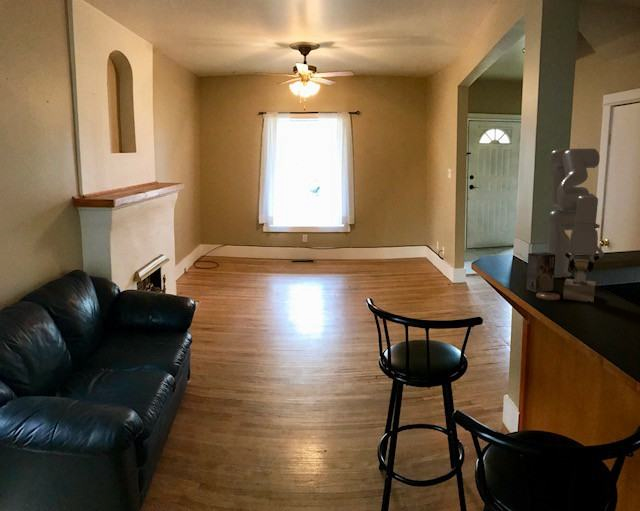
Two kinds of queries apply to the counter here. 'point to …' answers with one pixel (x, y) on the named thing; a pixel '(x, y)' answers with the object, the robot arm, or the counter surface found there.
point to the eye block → (579, 290)
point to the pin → (580, 270)
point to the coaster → (548, 296)
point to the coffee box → (540, 271)
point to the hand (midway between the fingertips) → (580, 270)
